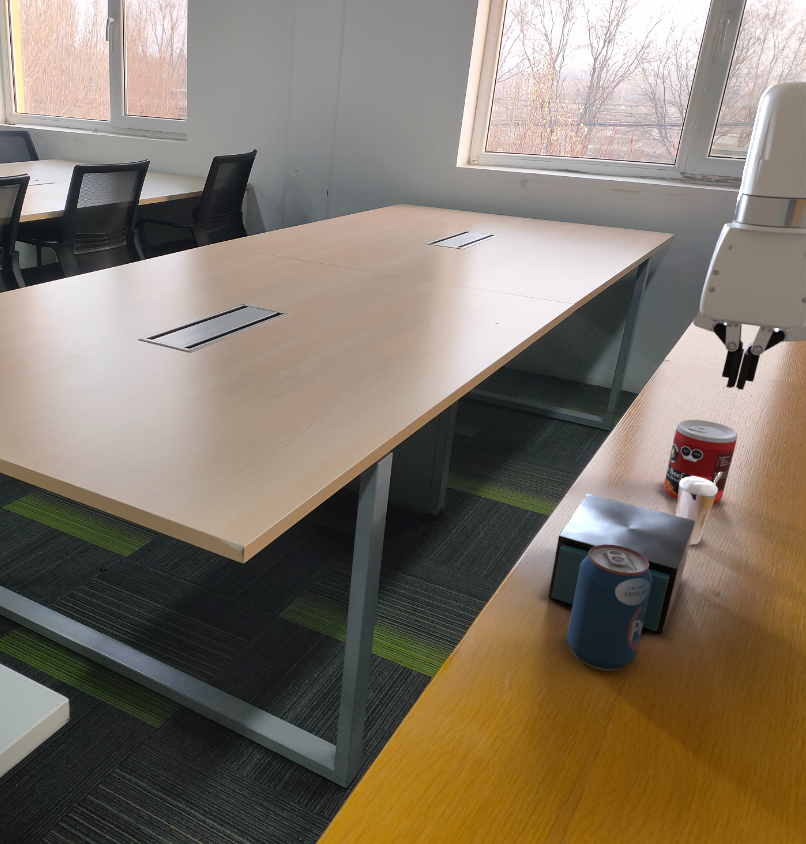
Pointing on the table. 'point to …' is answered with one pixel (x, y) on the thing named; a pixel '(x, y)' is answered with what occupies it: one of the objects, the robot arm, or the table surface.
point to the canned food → (700, 454)
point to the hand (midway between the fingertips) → (736, 385)
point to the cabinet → (632, 539)
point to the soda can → (609, 607)
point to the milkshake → (696, 502)
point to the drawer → (569, 575)
